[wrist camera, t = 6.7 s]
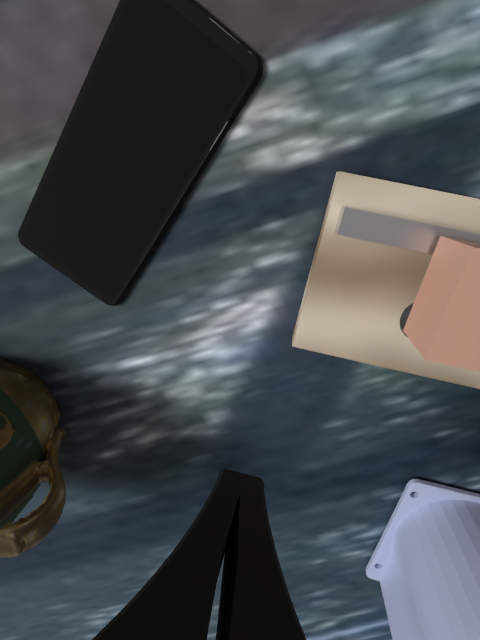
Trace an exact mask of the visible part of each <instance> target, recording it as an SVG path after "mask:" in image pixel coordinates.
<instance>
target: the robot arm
mask: <svg viewBox="0 0 480 640" xmlns="http://www.w3.org/2000/svg"><path fill="white" fill-rule="evenodd" d="M411 492H415V493H411ZM224 553H225V556H224ZM223 557H224V566H223V575H222V585H221V595H220V604H219V614H218V624H217V633H216V640H306V638H305V635H304V633H303V630H302V628H301V625H300V622H299V620H298V617H297V615H296V612H295V609H294V606H293V604H292V601H291V598H290V595H289V592H288V589H287V586H286V583H285V580H284V577H283V574H282V570H281V567H280V564H279V560H278V557H277V553H276V549H275V545H274V541H273V537H272V533H271V529H270V524H269V519H268V514H267V509H266V503H265V495H264V484H263V480H262V479H261V478H259V477H255V476H251V475H247V474H243V473H239V472H235V471H231V470H227V469H223V470H221V471H220V473H219V477H218V479H217V481H216V484H215V486H214V488H213V490H212V492H211V494H210V496H209V497H208V499H207V501H206V503H205V504H204V506H203V508H202V509H201V511H200V513H199V514H198V516H197V517H196V519H195V521H194V522H193V524H192V525H191V527H190V528H189V529H188V531H187V532H186V534H185V535H184V536H183V538H182V539H181V541H180V542H179V543H178V545H177V546H176V548H175V549H174V550H173V552H172V553H171V554H170V555H169V557H168V558H167V559H166V560H165V562H164V563H163V564H162V565H161V567H160V568H159V569H158V570H157V571H156V573H155V574H154V575H153V576H152V577H151V579H150V580H149V581H148V582H147V583H146V584H145V585H144V586H143V588H142V589H141V590H140V591H139V592H138V593H137V594H136V595H135V597H134V598H133V599H132V600H131V601H130V602H129V603H128V604H127V605H126V606H125V607H124V608H123V609H122V610H121V611H120V612H119V613H118V614H117V615H116V616H115V617H114V618H113V619H112V620H111V621H110V622H109V623H108V624H107V625H106V626H105V627H104V628H103V629H102V630H101V631H100V632H99V633H98V634H97V635H96V636H95V637H94V638H93V639H92V640H207V634H208V628H209V622H210V617H211V611H212V605H213V599H214V594H215V588H216V583H217V579H218V575H219V572H220V568H221V564H222V561H223ZM366 575H367V577H369V578H370V579H374V580H377V581H380V585H381V589H382V594H383V598H384V603H385V607H386V612H387V616H388V621H389V625H390V630H391V634H392V639H393V640H480V494H478V493H473V492H469V491H465V490H461V489H457V488H453V487H449V486H445V485H441V484H437V483H433V482H428V481H424V480H420V479H412V480H410V481H409V482H408V483H407V485H406V487H405V490H404V492H403V494H402V496H401V498H400V500H399V502H398V504H397V506H396V508H395V510H394V512H393V514H392V516H391V518H390V520H389V522H388V524H387V526H386V528H385V530H384V532H383V534H382V536H381V539H380V541H379V543H378V545H377V547H376V549H375V551H374V553H373V555H372V557H371V559H370V561H369V563H368V565H367V567H366Z"/></svg>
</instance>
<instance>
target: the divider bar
mask: <svg viewBox="0 0 480 640" xmlns="http://www.w3.org/2000/svg"><path fill="white" fill-rule="evenodd" d="M334 231H335V233H336V234H337V235H342V236H347V237H352V238H356V239H361V240H366V241H371V242H376V243H380V244H385V245H390V246H395V247H400V248H404V249H409V250H414V251H419V252H424V253H428V254H433V253H434V251H435V248H436V246H437V243H438V241H439V238H440V236H445V237H450V238H455V239H459V240H464V241H469V242H474V243H479V244H480V234H479V233H474V232H469V231H465V230H460V229H455V228H450V227H445V226H440V225H435V224H430V223H425V222H420V221H415V220H411V219H406V218H401V217H396V216H391V215H386V214H381V213H376V212H371V211H366V210H361V209H357V208H352V207H347V206H341V209H340V213H339V216H338V220H337V223H336V227H335V230H334Z"/></svg>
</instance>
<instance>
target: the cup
mask: <svg viewBox="0 0 480 640" xmlns="http://www.w3.org/2000/svg"><path fill="white" fill-rule="evenodd" d="M59 417H60V411H59V409H58V405H57V403H56V400H55V398H54V397H53V395H52V393H51V392H50V390H49V389H48V388H47V386H46V385H45V384H44V383H43V382H42V381H41V380H40V379H39V378H38V377H37V376H36V375H35V374H33V373H32V372H30V371H29V370H27V369H25V368H23V367H21V366H19V365H17V364H14V363H12V362H9V361H7V360H4V359H1V358H0V558H6V557H15V556H19V555H21V554H22V553H23V552H24V551H26V550H28V549H30V548H32V547H33V546H35V545H37V544H38V543H39V542H40V541H42V540H43V539H44V538H45V537H46V536H47V535H48V534H49V533H50V531H51V530H52V529H53V527H54V526H55V525H56V523H57V522H58V520H59V518H60V516H61V514H62V511H63V507H64V504H65V496H66V490H65V483H64V479H63V476H62V473H61V470H60V466H59V461H58V455H59V448H60V442H61V439H62V437H64V435H65V430H64V429H63V428H61V427H57V426H58V423H59ZM42 481H49V484H50V490H49V493H48V495H47V496H46V497H45V499H44V502H43V503H42V504H41V505H40V506H39V507H38V508H37V509H36V510H33V511H32V512H31V513H30V514H29V515H27V516H25V518H19V520H18V521H17V522H15V523H13V524H11V523H12V522H13V521H14V520H15V519H16V517H17V516H18V515H19V514H20V513H21V511H22V510H23V509H24V507H25V506H26V505H27V503H28V502H29V501H30V500H31V499H32V497H33V495H34V493H35V492H36V490H37V489H38V487H39V486H40V484H41V482H42Z"/></svg>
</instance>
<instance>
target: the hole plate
mask: <svg viewBox="0 0 480 640" xmlns="http://www.w3.org/2000/svg"><path fill="white" fill-rule="evenodd" d="M341 206H347V207H352V208H357V209H361V210H366V211H371V212H376V213H381V214H386V215H391V216H396V217H401V218H406V219H411V220H415V221H420V222H425V223H430V224H435V225H440V226H445V227H450V228H455V229H460V230H465V231H469V232H474V233H479V234H480V199H476V198H471V197H466V196H461V195H456V194H451V193H446V192H441V191H436V190H431V189H426V188H421V187H416V186H411V185H406V184H401V183H396V182H391V181H386V180H380V179H375V178H370V177H365V176H360V175H355V174H350V173H345V172H340V171H339V172H336V176H335V180H334V183H333V187H332V191H331V195H330V198H329V202H328V206H327V210H326V213H325V217H324V221H323V224H322V228H321V232H320V236H319V239H318V243H317V247H316V251H315V254H314V258H313V262H312V266H311V269H310V273H309V277H308V280H307V284H306V288H305V292H304V295H303V299H302V303H301V307H300V310H299V314H298V318H297V321H296V325H295V329H294V333H293V336H292V346H293V347H297V348H302V349H306V350H310V351H315V352H319V353H324V354H328V355H332V356H337V357H341V358H345V359H350V360H354V361H359V362H363V363H367V364H372V365H376V366H381V367H385V368H389V369H394V370H398V371H402V372H407V373H411V374H416V375H420V376H424V377H429V378H433V379H438V380H442V381H446V382H451V383H455V384H459V385H464V386H468V387H473V388H477V389H480V372H477V371H473V370H468V369H464V368H459V367H455V366H451V365H446V364H442V363H437V362H433V361H428V360H425V359H424V358H423V356H422V355H421V354H420V352H419V351H418V350H417V349H416V347H415V346H414V345H413V343H412V342H411V341H410V339H409V338H408V337H407V335H406V334H405V333H404V331H403V329H404V327H405V324H406V322H407V319H408V317H409V314H410V311H411V309H412V306H413V304H414V301H415V299H416V296H417V294H418V291H419V289H420V286H421V284H422V281H423V279H424V276H425V274H426V271H427V269H428V266H429V264H430V261H431V258H432V256H433V254H428V253H424V252H419V251H414V250H409V249H404V248H400V247H395V246H390V245H385V244H380V243H376V242H371V241H366V240H361V239H356V238H352V237H347V236H342V235H337V234H336V233H335V231H334V230H335V227H336V223H337V220H338V216H339V213H340V209H341Z"/></svg>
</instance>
